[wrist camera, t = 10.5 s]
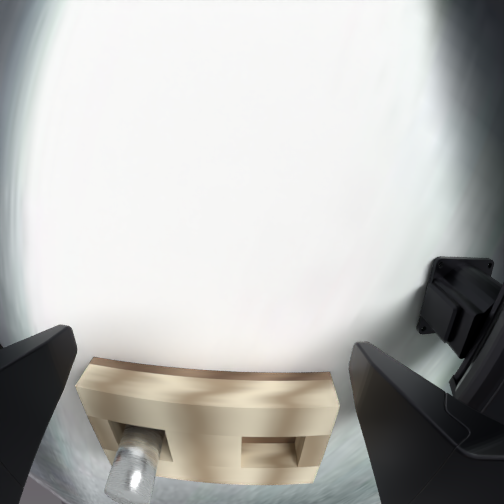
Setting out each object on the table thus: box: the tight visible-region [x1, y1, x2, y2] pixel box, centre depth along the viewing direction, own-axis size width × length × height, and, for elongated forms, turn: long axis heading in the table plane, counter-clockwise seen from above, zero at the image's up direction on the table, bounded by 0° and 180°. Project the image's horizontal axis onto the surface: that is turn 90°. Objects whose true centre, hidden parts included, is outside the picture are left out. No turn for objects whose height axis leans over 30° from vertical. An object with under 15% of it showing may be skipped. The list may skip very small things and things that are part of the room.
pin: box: [104, 424, 165, 504], centre depth 20 cm, size 4×4×9 cm
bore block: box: [75, 357, 340, 485], centre depth 24 cm, size 20×12×4 cm, turn 88°
